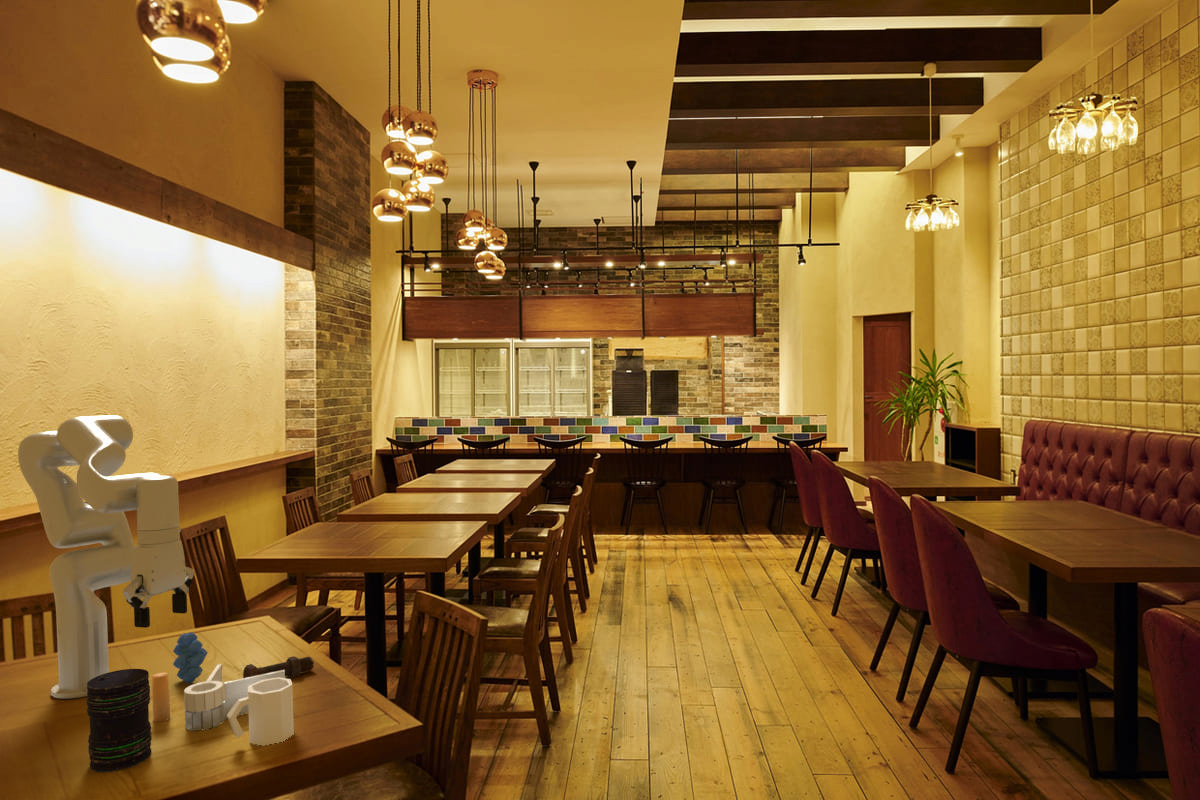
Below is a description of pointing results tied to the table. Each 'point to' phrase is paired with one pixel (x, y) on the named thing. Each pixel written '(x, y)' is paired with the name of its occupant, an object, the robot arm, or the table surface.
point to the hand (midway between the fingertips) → (161, 619)
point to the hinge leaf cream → (205, 693)
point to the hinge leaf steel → (226, 702)
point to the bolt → (282, 667)
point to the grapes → (189, 657)
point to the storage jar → (119, 720)
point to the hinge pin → (160, 697)
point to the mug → (266, 711)
